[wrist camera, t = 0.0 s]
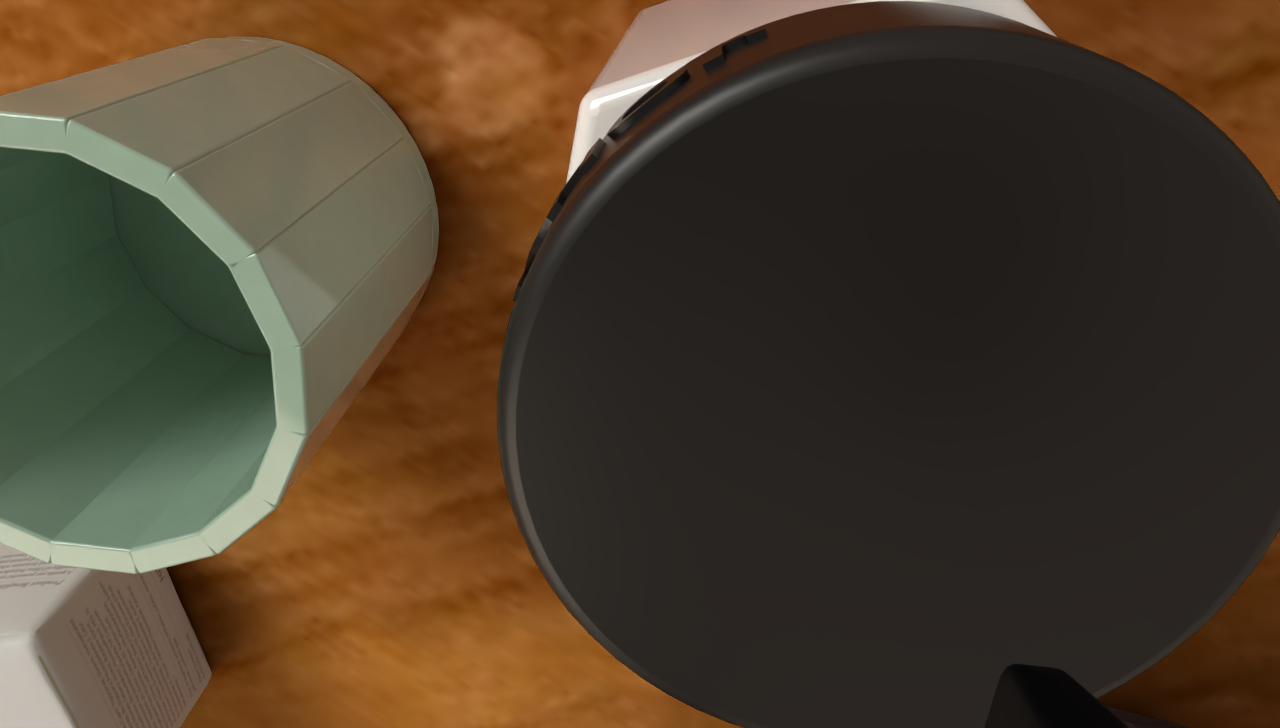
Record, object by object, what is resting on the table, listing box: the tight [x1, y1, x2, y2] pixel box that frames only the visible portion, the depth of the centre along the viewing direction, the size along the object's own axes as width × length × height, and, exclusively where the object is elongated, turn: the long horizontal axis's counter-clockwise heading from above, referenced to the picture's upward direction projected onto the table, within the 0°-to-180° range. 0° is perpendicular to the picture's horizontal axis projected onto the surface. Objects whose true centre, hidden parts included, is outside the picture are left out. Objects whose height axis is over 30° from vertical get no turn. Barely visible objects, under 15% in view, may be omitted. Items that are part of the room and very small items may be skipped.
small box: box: [0, 543, 212, 728], centre depth 25 cm, size 6×6×5 cm
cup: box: [0, 36, 439, 574], centre depth 18 cm, size 7×7×8 cm
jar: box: [497, 0, 1280, 728], centre depth 15 cm, size 9×8×12 cm
